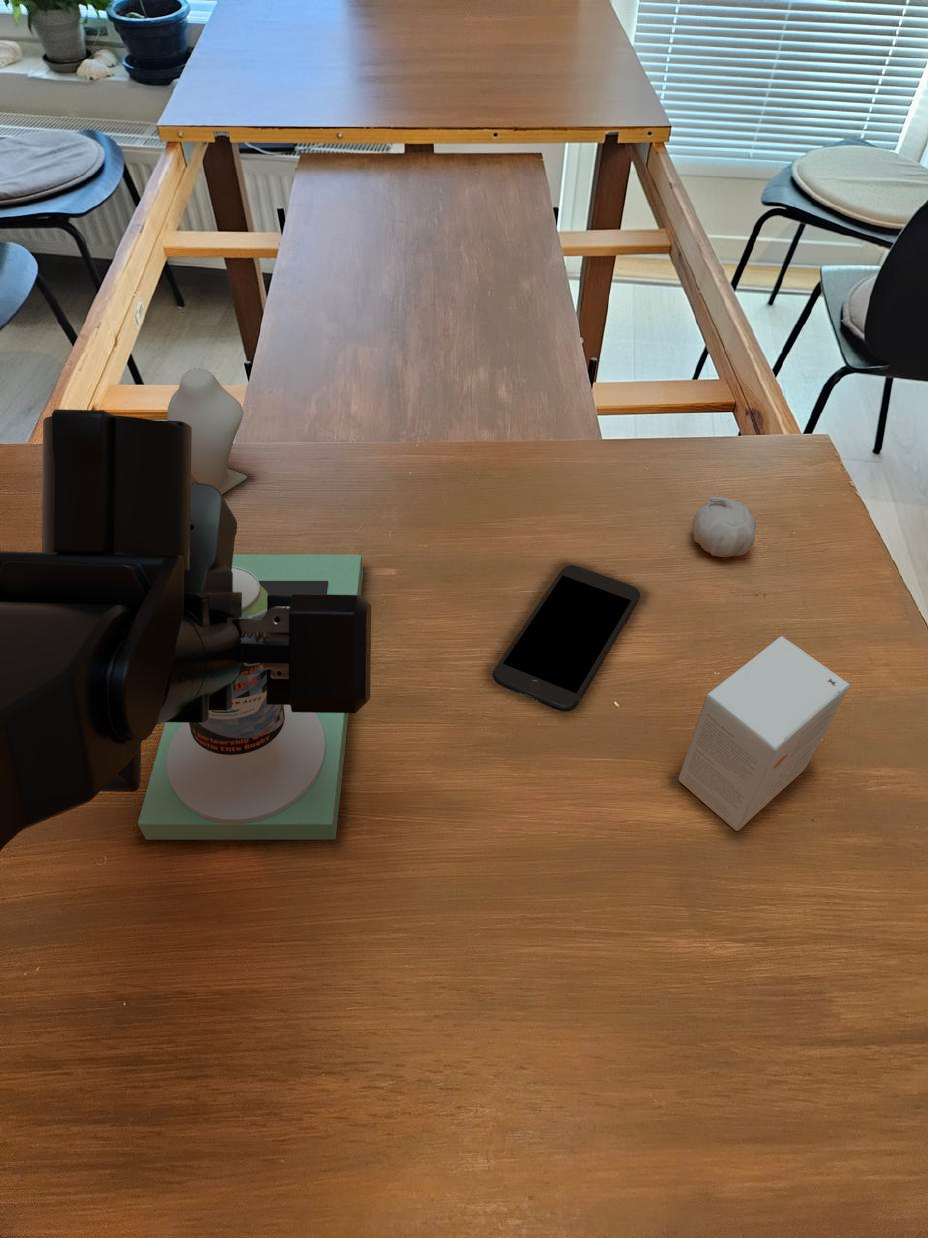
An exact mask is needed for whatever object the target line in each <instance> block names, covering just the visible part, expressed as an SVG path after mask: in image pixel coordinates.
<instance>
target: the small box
mask: <svg viewBox="0 0 928 1238" xmlns="http://www.w3.org/2000/svg"><path fill="white" fill-rule="evenodd" d="M850 687H851V684H850V683H849V682H847V681H846V680H845V679H843V678H842V677H840V676H839V675H837V674H836V673H835V672H833V671H832V670H831V669H829V668H828V667H826V665H824V664H822V663H820V662H819V661H818V660H816V659H815V658H814V657H812V656H811V655H810V654H808V653H807V652H805V651H804V650H802V649H801V648H800V647H799V646H797V645H795V644H794V643H793V642H791V641H790V640H788V639H786V638H785V637H784V636H783V635H779V636H778V637H776V638H775V639H774V640H773V641H772V642H770V643H769V644H768V645H767V646H765V647H764V648H763V649H762V650H760V651H759V652H758V653H757V654H755V655H754V656H753V657H752V658H750V659H749V660H748V661H747V662H746V663H744V664H743V665H741V667H739V668H738V669H736V671H733V673H732V674H730V675H729V676H728V677H727V678H725V679H724V680H723V681H722V682H720V683H719V684H718V685H716V686H715V687H714V688H713V689H711V690H710V691H709V692H707V693H706V695H705V698H704V701H703V704H702V707H701V709H700V713H699V715H698V719H697V721H696V725H695V728H694V731H693V735H692V737H691V740H690V743H689V745H688V749H687V752H686V755H685V757H684V761H683V764H682V767H681V771H680V773H679V776H678V782H679V783H681V784H682V785H683V786H684V787H685V788H686V789H687V790H688V791H689V792H691V793H692V794H693V795H694V796H695V797H696V798H698V799H699V800H700V801H701V802H702V803H703V804H704V805H705V806H707V807H708V808H709V809H710V810H711V811H712V812H713V813H715V814H716V815H717V816H718V817H719V818H720V819H722V821H724V822H725V823H726V824H727V825H729V826H730V828H732V829H733V830H734V831H735V832H738V831H740V830H741V829H742V828H743V827H744V826H745V825H746V824H747V823H748V822H749V821H751V819H752V818H754V817H755V816H756V815H757V814H758V813H759V812H760V811H761V810H762V809H764V808H765V807H766V806H767V805H768V804H769V803H770V802H771V801H772V800H773V799H774V798H775V797H777V796H778V795H779V794H780V793H781V792H783V790H784V789H785V788H786V787H788V786H789V785H790V784H791V783H792V782H793V781H794V780H795V779H797V777H798V776H800V775H801V774H802V773H803V772H805V770H806V768H807V767H808V765H809V763H810V762H811V759H812V757H814V755H815V752H816V751H817V748H818V747H819V745H820V743H821V741H822V739H823V738H824V735H825V734H826V732H827V730H828V728H829V726H830V725H831V722H832V721H833V719H834V717H835V715H836V713H837V711H838V709H839V707H840V705H841V704H842V702H843V700H844V699H845V696H846V694H847V692H848V690H849V689H850Z"/></svg>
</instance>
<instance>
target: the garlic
mask: <svg viewBox="0 0 928 1238" xmlns="http://www.w3.org/2000/svg"><path fill="white" fill-rule="evenodd" d="M691 526H692V533H693V540H694V542H695V543H698V545H699V546H701V549H702V550H704V551H705V552H707V553H709V554H711V556H713V557H714V556H715V557H720V558H729V557H740V556H741V557H742V556H744V555H746V554H747V553H748V552H749V551H750V550H751V548H752V547H753V545H754V543H755V541H756V530H757V524H756V519H755V517H754V516H753V513H752V511H751V509H749V508H748V506H746V505H745V504H744V503H742V502H740V501H739V500H734V499H731V498H727V497H724V496H714V495H713V496H711V497H710V498H708V499H707V500H706V502H705V503H704V504H703V505H702V506H701V507H699V509H697V510H696V511H695V514H694V515H693V518H692V523H691Z"/></svg>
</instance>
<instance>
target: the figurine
mask: <svg viewBox="0 0 928 1238" xmlns="http://www.w3.org/2000/svg"><path fill="white" fill-rule="evenodd" d="M166 413H167V416H166V417H167V421H181V422H185V423H187V424H189V425H190V426H191V427H192V443H191V476H192V477H193V478H194V479H195V481H196V482H197V483H201V484H210V485H212V486H214V487H216V488H217V489H218V490H219V491H220V493H221V495H222V496H223V495H224V494H225V493H227V492H229V490H231V489H232V488H234V487H236V486H237V485H239V484H240V483H242V482H243V481H245V480H247V478H248V476H246V475H245V474H243V473H240V472H237V471H235V470H232V469H230V468H228V466H229V461H230V456H231V452H232V448H233V445H234V443H235V439H236V436H237V433H238V431H239V428H240V426H241V424H242V420H243V417H244V408H243V406H242V404H241V403H240V401H239V400H238V399H237V398H236V397H235V396H233V395H232V394H231V393H229V392H228V391H227V390H226V389H225V388H224V387H223V385H222V384H221V383H220V382H219V380H218V379H217V378H216V377H215V375H214V373H212V372H210V370H208V369H205V368H200V367H193V368H190V369H188V370H187V371H186V372H184V374H183V375H182V377H181V378H180V382H179V386H178V388H177V390H175V392H174V393H173V394H172V396H171V397H170V400H169V403H168V406H167V412H166Z"/></svg>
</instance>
